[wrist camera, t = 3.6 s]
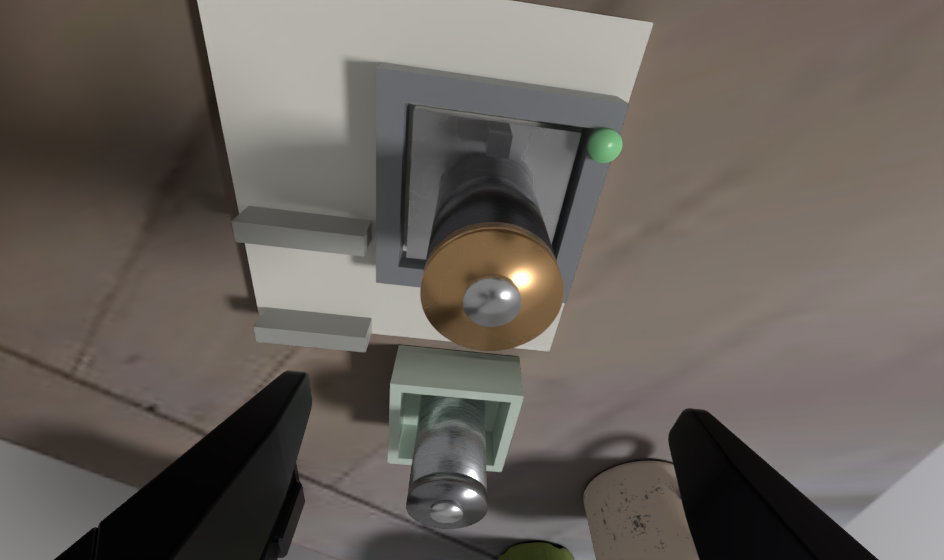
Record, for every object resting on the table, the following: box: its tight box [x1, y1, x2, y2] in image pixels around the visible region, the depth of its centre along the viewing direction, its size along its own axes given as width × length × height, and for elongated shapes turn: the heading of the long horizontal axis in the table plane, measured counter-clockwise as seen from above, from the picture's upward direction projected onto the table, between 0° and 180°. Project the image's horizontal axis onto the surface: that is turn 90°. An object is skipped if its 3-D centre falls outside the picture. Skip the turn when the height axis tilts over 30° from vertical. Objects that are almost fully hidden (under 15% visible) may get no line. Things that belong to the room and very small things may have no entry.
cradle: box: [406, 106, 581, 260], centre depth 17 cm, size 6×6×3 cm
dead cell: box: [406, 394, 487, 529], centre depth 23 cm, size 4×4×7 cm
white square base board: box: [197, 0, 653, 352], centre depth 18 cm, size 16×16×3 cm
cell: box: [420, 153, 564, 351], centre depth 14 cm, size 4×4×7 cm
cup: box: [388, 345, 524, 472], centre depth 25 cm, size 7×7×3 cm
